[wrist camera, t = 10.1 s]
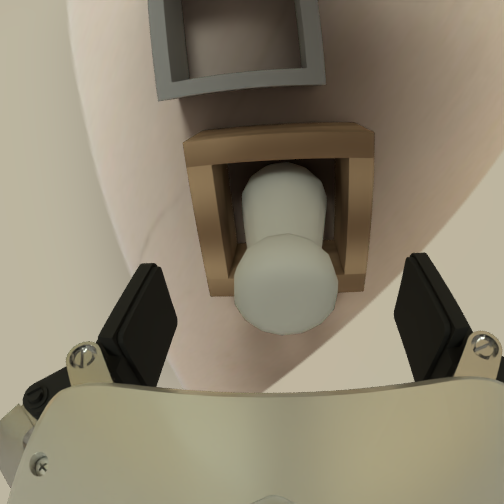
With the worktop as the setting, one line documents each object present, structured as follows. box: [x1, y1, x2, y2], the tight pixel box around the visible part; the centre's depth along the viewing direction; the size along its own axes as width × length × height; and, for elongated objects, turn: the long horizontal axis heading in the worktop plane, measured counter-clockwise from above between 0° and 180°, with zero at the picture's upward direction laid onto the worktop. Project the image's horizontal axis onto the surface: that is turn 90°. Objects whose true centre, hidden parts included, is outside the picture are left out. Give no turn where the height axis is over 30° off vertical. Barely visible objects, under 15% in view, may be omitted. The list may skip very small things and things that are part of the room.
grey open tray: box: [148, 0, 326, 101], centre depth 15 cm, size 10×10×4 cm
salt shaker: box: [234, 162, 338, 335], centre depth 17 cm, size 6×6×13 cm
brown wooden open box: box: [183, 122, 375, 297], centre depth 21 cm, size 11×11×5 cm
